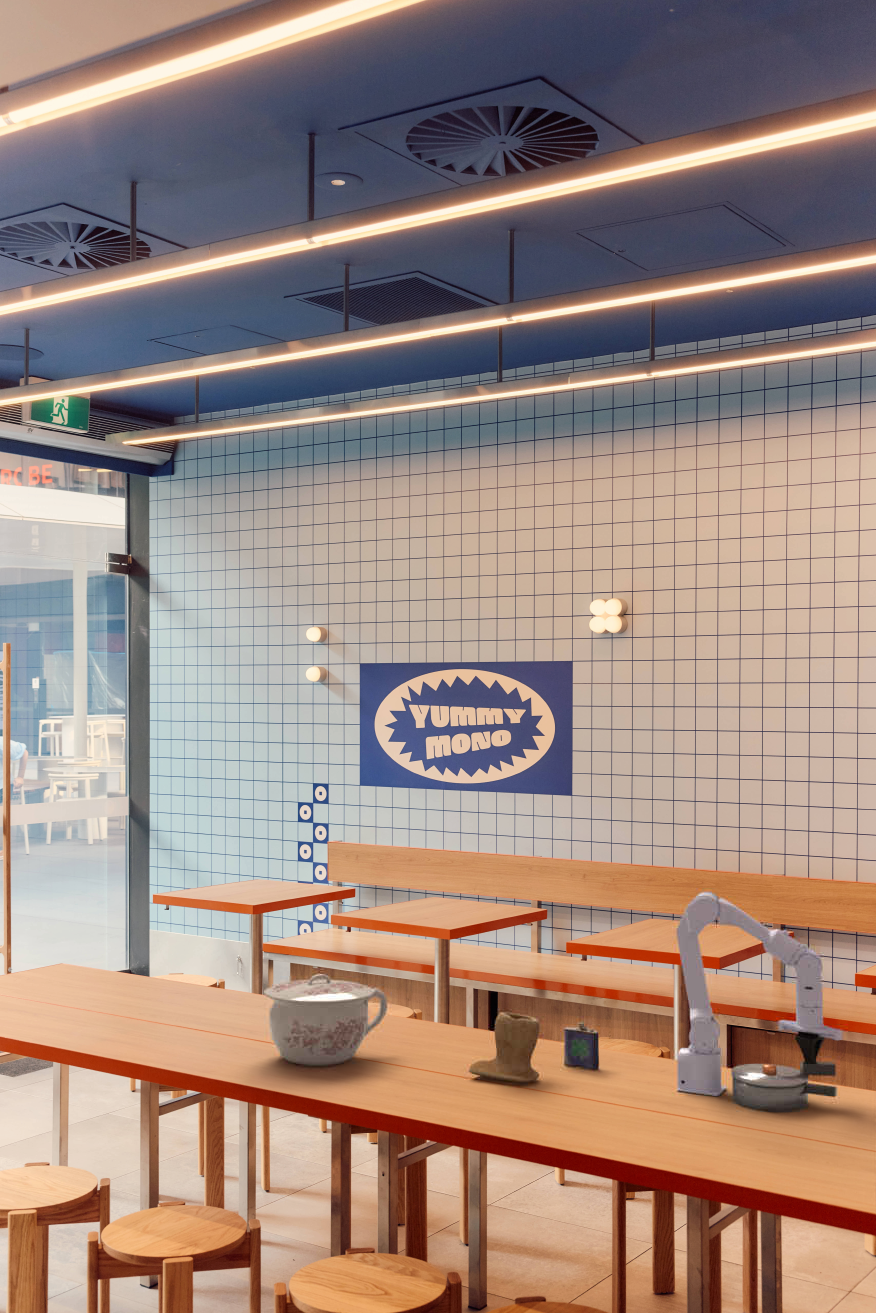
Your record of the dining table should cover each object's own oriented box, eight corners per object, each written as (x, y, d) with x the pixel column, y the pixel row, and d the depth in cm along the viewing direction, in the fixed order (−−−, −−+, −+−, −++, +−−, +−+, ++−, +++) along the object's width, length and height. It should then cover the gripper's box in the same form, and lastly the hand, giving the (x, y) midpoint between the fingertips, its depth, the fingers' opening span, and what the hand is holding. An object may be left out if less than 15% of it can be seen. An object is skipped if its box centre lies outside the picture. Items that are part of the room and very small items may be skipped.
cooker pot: (724, 1105, 264) (724, 1081, 264) (742, 1088, 278) (742, 1066, 278) (829, 1120, 254) (829, 1095, 254) (842, 1102, 268) (842, 1078, 268)
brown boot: (548, 1077, 286) (549, 1012, 287) (525, 1089, 275) (526, 1021, 277) (491, 1068, 293) (492, 1005, 295) (467, 1079, 283) (468, 1013, 285)
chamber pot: (242, 1068, 291) (244, 979, 293) (289, 1043, 317) (291, 962, 319) (352, 1078, 283) (353, 987, 284) (390, 1052, 309) (392, 969, 311)
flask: (562, 1065, 298) (562, 1020, 299) (568, 1063, 300) (568, 1018, 301) (596, 1071, 292) (596, 1025, 293) (601, 1069, 295) (601, 1023, 296)
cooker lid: (739, 1086, 260) (739, 1070, 260) (724, 1067, 276) (724, 1052, 277) (845, 1089, 259) (844, 1072, 259) (823, 1069, 275) (823, 1054, 276)
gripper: (770, 1003, 274) (772, 1064, 273) (830, 1012, 263) (831, 1077, 262) (787, 998, 279) (788, 1059, 278) (846, 1008, 268) (847, 1071, 267)
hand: (810, 1068), depth 270 cm, fingers closed
